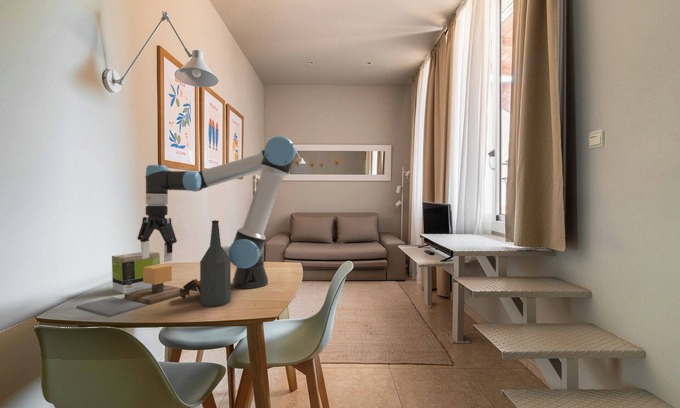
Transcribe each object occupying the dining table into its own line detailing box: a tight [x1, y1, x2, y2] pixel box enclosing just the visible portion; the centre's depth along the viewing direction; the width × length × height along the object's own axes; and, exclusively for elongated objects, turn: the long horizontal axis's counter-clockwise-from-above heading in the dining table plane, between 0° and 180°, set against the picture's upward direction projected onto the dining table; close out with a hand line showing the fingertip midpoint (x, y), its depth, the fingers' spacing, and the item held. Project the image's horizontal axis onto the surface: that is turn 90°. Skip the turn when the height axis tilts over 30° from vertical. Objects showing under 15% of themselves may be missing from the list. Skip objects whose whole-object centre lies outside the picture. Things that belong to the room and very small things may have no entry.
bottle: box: [199, 219, 232, 308], centre depth 123 cm, size 10×10×30 cm
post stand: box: [123, 283, 184, 305], centre depth 132 cm, size 16×16×10 cm
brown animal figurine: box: [179, 278, 200, 299], centre depth 129 cm, size 12×10×8 cm
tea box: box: [111, 250, 161, 294], centre depth 143 cm, size 15×10×15 cm
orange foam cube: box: [143, 263, 173, 285], centre depth 132 cm, size 7×7×6 cm
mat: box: [75, 296, 147, 317], centre depth 118 cm, size 20×12×1 cm, turn 63°
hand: (156, 259), depth 131 cm, fingers open, 13 cm apart
